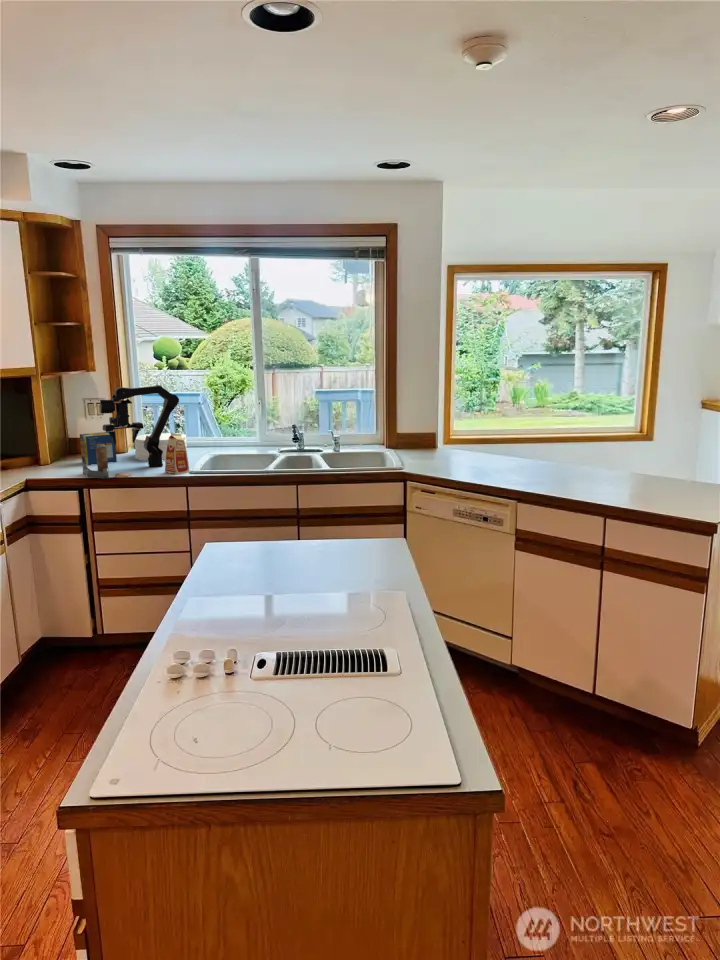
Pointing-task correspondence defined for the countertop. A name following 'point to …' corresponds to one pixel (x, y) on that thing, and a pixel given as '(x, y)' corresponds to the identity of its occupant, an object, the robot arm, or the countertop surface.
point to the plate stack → (144, 454)
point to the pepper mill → (101, 457)
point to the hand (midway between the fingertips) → (124, 443)
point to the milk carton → (176, 455)
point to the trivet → (122, 475)
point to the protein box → (90, 446)
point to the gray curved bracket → (95, 472)
